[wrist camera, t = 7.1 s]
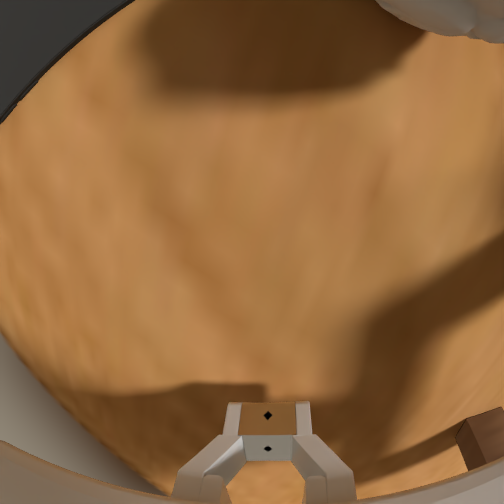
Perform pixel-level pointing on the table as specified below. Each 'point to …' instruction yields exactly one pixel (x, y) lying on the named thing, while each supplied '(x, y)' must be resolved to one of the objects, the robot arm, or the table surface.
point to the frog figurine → (452, 17)
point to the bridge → (482, 438)
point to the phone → (42, 39)
